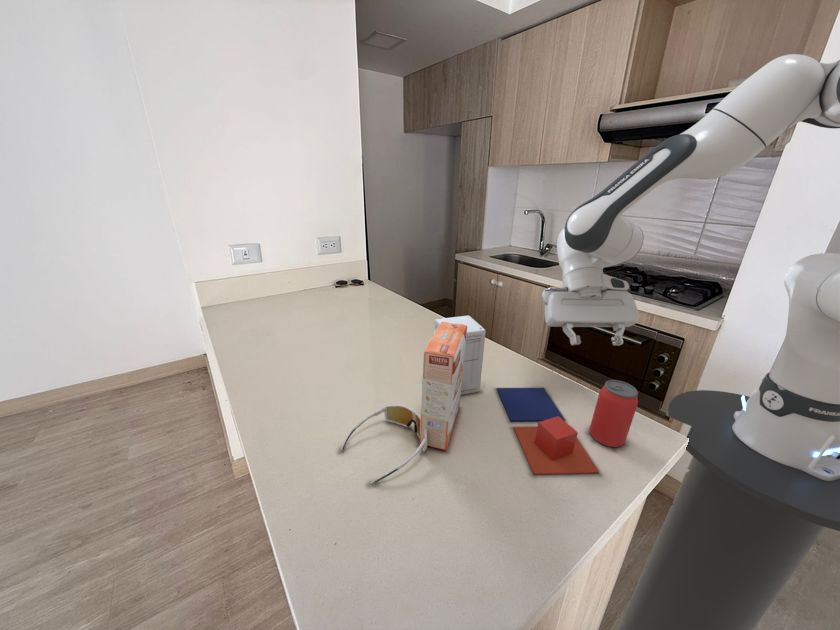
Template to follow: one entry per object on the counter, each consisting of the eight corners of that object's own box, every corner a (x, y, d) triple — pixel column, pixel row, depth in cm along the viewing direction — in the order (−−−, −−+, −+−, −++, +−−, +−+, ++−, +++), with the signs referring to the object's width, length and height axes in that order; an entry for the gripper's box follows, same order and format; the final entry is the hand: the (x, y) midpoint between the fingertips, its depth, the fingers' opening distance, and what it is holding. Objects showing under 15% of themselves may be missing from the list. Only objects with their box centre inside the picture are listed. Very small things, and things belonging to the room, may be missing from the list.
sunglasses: (442, 446, 66) (440, 428, 64) (380, 499, 57) (376, 480, 55) (395, 411, 75) (393, 393, 73) (336, 452, 67) (331, 434, 64)
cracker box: (448, 452, 65) (455, 355, 57) (418, 445, 66) (421, 350, 58) (461, 408, 77) (468, 323, 69) (435, 402, 79) (439, 319, 71)
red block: (553, 435, 69) (558, 415, 67) (572, 453, 65) (578, 432, 63) (534, 442, 67) (538, 421, 65) (552, 460, 63) (557, 439, 61)
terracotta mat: (568, 427, 72) (569, 426, 72) (599, 473, 61) (599, 472, 61) (513, 428, 72) (513, 426, 71) (533, 474, 60) (533, 473, 60)
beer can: (586, 423, 74) (599, 375, 69) (620, 430, 72) (636, 381, 67) (591, 444, 68) (605, 393, 63) (628, 452, 66) (645, 401, 61)
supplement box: (464, 372, 91) (470, 314, 85) (480, 392, 83) (487, 329, 77) (431, 377, 88) (433, 318, 82) (444, 398, 80) (448, 334, 74)
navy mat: (543, 389, 85) (544, 387, 85) (564, 421, 74) (565, 419, 74) (496, 389, 84) (496, 387, 84) (510, 421, 73) (510, 420, 73)
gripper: (546, 280, 76) (556, 339, 71) (634, 282, 77) (651, 340, 72) (536, 293, 82) (544, 348, 77) (618, 294, 83) (632, 348, 78)
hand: (597, 344), depth 74 cm, fingers open, 8 cm apart
